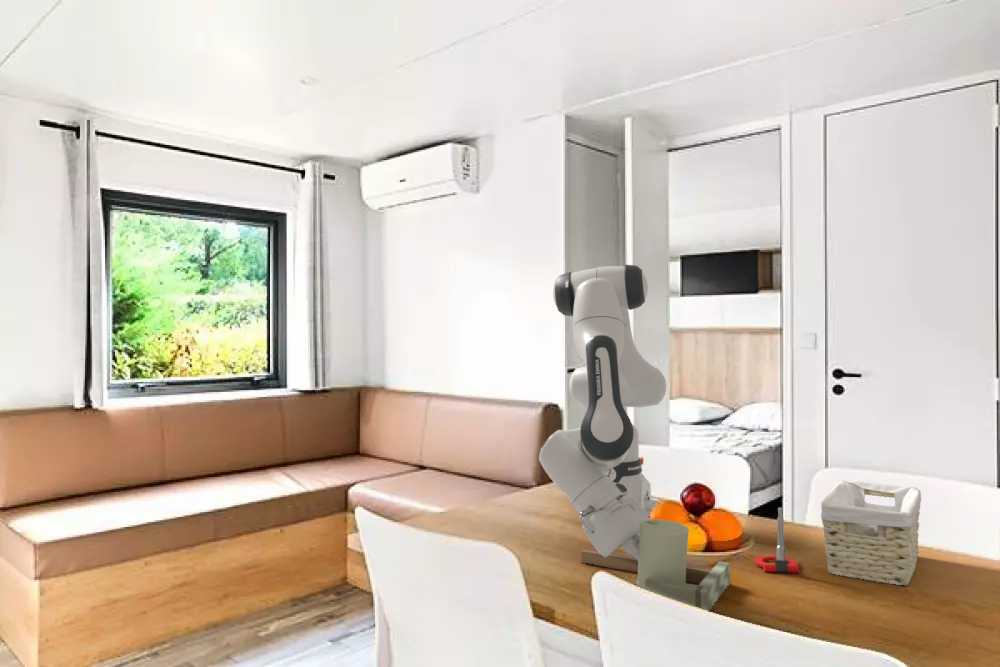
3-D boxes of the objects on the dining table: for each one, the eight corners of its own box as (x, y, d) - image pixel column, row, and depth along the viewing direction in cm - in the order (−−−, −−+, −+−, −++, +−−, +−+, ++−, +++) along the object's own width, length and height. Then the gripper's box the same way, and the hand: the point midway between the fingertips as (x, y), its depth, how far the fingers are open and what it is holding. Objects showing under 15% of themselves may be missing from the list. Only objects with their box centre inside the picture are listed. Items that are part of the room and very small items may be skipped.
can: (658, 574, 142) (661, 514, 141) (696, 590, 135) (699, 527, 134) (626, 583, 137) (629, 521, 136) (663, 600, 129) (666, 534, 129)
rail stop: (586, 559, 153) (585, 540, 153) (729, 583, 137) (729, 562, 137) (551, 584, 139) (550, 563, 139) (706, 614, 123) (706, 591, 123)
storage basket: (912, 592, 132) (912, 512, 132) (818, 575, 141) (817, 501, 141) (923, 556, 152) (923, 486, 152) (839, 543, 161) (839, 478, 161)
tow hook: (751, 560, 152) (760, 573, 143) (750, 498, 153) (759, 508, 143) (792, 561, 151) (804, 574, 142) (791, 500, 151) (803, 509, 142)
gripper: (586, 503, 132) (637, 565, 127) (627, 482, 150) (673, 535, 145) (565, 524, 135) (614, 585, 130) (607, 501, 152) (652, 554, 147)
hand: (646, 559), depth 137 cm, fingers closed, pressing on can
